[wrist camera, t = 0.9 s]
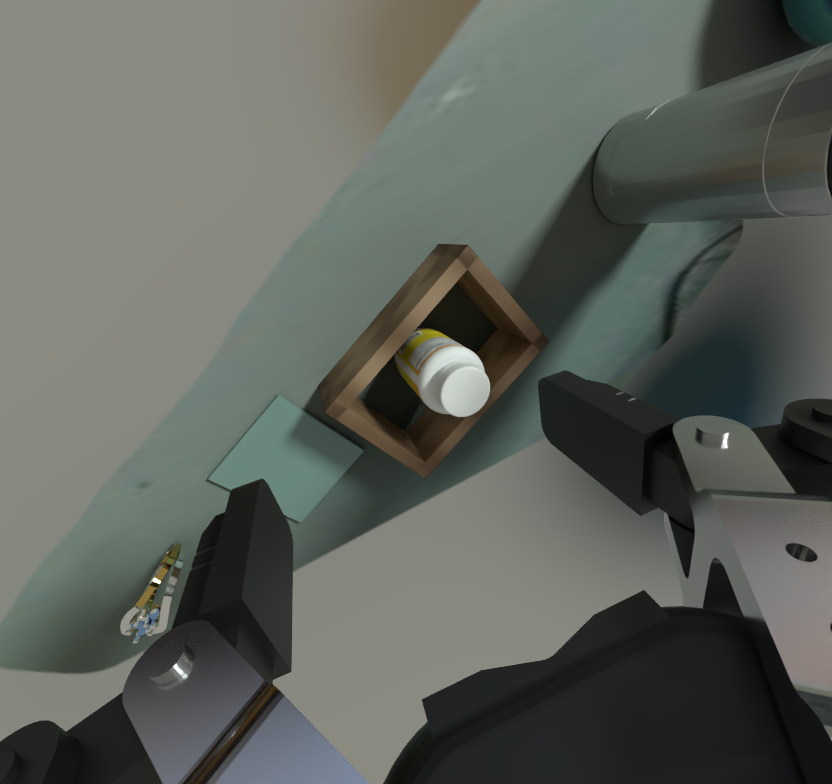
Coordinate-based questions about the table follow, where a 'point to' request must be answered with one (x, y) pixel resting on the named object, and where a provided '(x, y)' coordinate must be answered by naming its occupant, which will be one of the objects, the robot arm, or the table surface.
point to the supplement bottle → (443, 373)
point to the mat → (288, 457)
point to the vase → (810, 20)
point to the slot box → (393, 327)
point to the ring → (142, 611)
